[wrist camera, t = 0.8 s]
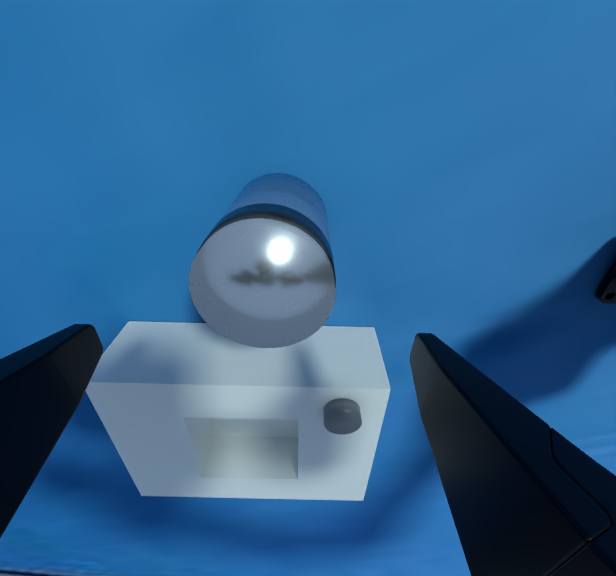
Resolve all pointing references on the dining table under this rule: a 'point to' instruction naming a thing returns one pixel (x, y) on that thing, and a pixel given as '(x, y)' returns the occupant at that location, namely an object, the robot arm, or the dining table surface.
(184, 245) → the dining table surface
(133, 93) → the dining table surface
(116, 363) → the camera body
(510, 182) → the dining table surface
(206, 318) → the steel lens
